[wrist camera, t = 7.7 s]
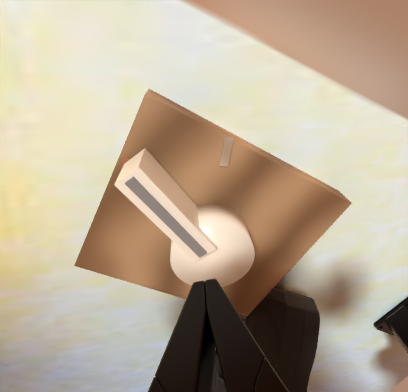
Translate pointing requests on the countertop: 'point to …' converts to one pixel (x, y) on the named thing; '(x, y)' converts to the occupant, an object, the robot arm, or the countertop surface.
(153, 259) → the panel
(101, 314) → the countertop surface
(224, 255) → the cream elongated piece
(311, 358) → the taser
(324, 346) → the countertop surface
